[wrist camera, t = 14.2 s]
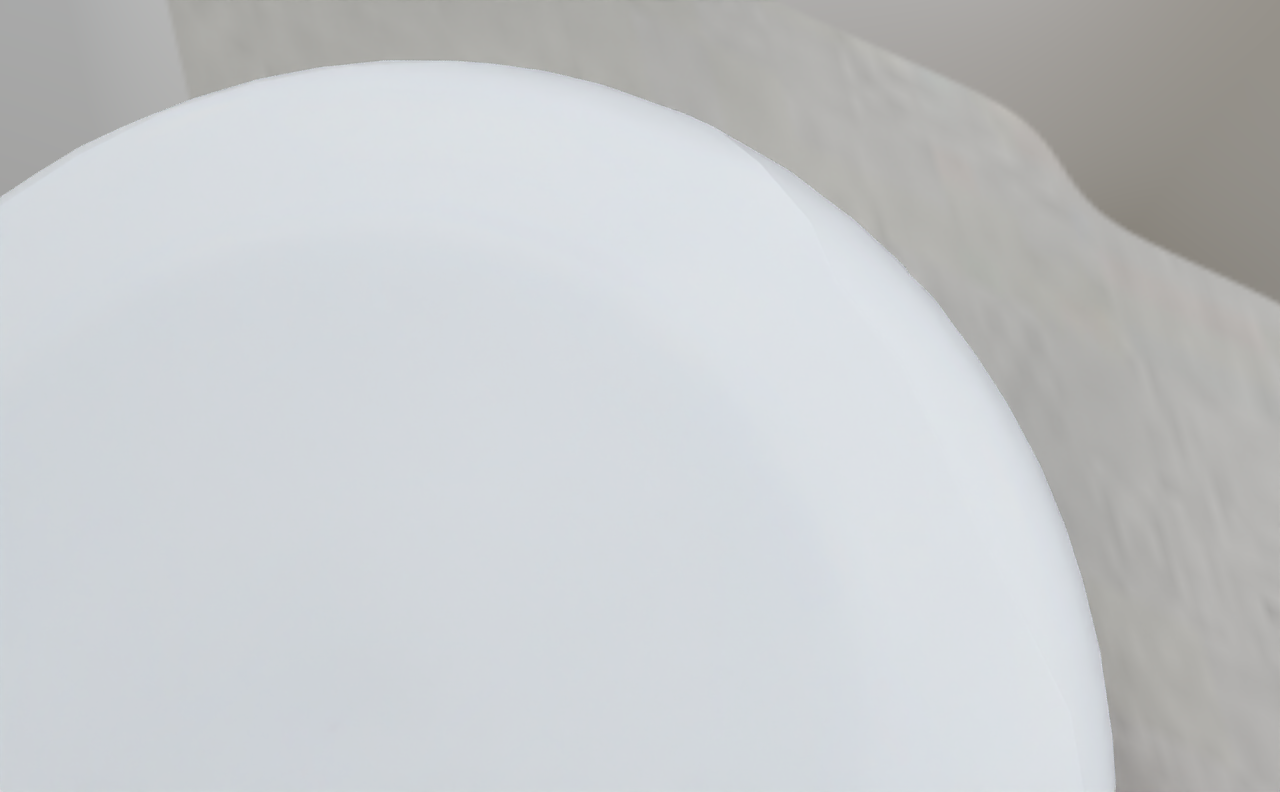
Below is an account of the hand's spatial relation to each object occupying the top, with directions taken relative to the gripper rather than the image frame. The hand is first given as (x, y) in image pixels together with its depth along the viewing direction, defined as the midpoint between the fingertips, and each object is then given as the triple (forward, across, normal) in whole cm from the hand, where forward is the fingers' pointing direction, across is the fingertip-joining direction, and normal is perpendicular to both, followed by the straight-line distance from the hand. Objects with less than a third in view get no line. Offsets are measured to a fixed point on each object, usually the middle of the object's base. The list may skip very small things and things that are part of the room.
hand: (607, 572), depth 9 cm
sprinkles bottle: (+5, 0, +6) cm, 7 cm away
